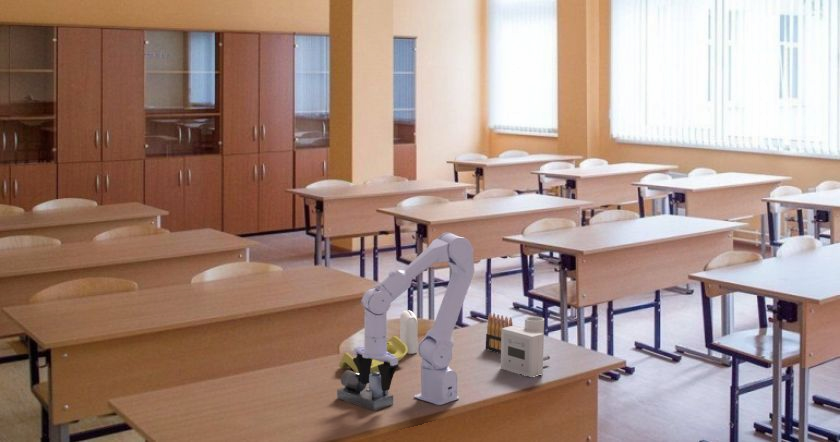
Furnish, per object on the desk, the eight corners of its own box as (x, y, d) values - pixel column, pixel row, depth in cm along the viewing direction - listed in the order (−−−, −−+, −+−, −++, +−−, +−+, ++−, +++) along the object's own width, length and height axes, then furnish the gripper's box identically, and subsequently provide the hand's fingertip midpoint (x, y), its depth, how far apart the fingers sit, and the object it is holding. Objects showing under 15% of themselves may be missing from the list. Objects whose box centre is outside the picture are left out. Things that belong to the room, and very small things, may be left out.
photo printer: (398, 345, 315) (398, 307, 313) (411, 345, 316) (412, 307, 314) (405, 354, 305) (405, 315, 303) (418, 353, 306) (419, 314, 304)
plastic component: (363, 370, 281) (342, 349, 286) (357, 390, 284) (336, 369, 290) (414, 352, 294) (392, 332, 300) (407, 371, 298) (386, 351, 303)
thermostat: (500, 368, 291) (501, 318, 289) (532, 360, 300) (534, 311, 298) (531, 378, 282) (532, 326, 280) (563, 369, 291) (565, 319, 289)
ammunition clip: (485, 349, 312) (485, 312, 310) (489, 348, 313) (490, 311, 311) (510, 356, 304) (510, 318, 302) (514, 355, 305) (515, 317, 303)
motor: (393, 404, 258) (393, 378, 257) (373, 410, 253) (373, 384, 252) (354, 391, 269) (354, 367, 268) (334, 397, 264) (334, 372, 263)
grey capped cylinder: (385, 395, 258) (385, 372, 257) (377, 398, 255) (377, 375, 254) (374, 392, 260) (374, 369, 259) (366, 395, 257) (366, 373, 256)
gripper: (345, 333, 257) (345, 383, 259) (384, 343, 247) (384, 396, 249) (365, 328, 262) (365, 378, 264) (403, 338, 252) (403, 390, 254)
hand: (375, 386), depth 257 cm, fingers open, 7 cm apart
